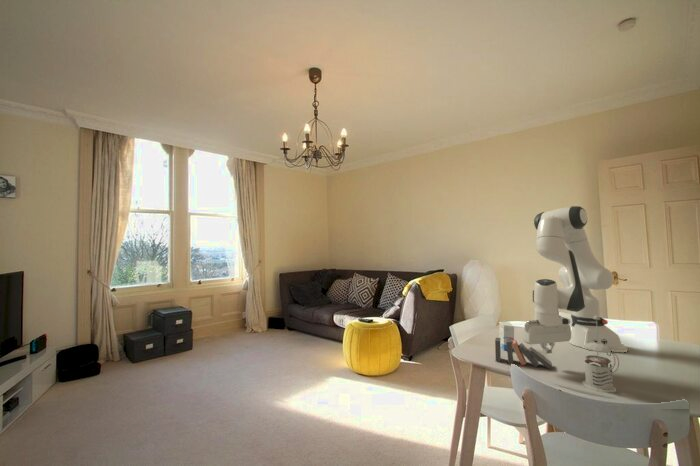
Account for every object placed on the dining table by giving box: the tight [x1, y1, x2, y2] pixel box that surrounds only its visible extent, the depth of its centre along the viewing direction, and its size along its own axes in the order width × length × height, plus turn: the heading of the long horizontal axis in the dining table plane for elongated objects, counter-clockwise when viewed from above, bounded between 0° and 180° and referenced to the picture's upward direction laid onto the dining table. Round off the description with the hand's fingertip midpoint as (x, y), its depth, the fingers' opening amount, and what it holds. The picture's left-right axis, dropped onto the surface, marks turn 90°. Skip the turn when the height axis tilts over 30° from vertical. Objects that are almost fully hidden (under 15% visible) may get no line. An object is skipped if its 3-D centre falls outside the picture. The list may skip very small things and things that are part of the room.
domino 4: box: [518, 342, 540, 368], centre depth 136 cm, size 2×5×9 cm
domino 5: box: [527, 346, 553, 370], centre depth 134 cm, size 2×5×9 cm
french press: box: [581, 316, 620, 393], centre depth 115 cm, size 10×12×25 cm
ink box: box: [498, 321, 515, 352], centre depth 157 cm, size 9×5×12 cm, turn 168°
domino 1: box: [494, 337, 502, 363], centre depth 141 cm, size 2×5×9 cm, turn 153°
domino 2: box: [506, 339, 514, 364], centre depth 139 cm, size 2×5×9 cm, turn 153°
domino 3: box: [511, 339, 527, 366], centre depth 137 cm, size 2×5×9 cm, turn 152°
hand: (547, 353), depth 132 cm, fingers closed
